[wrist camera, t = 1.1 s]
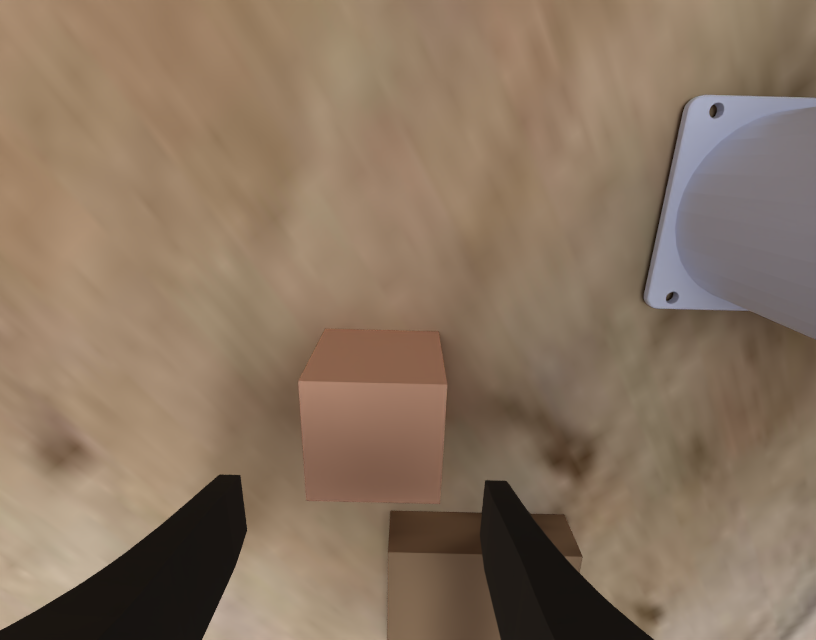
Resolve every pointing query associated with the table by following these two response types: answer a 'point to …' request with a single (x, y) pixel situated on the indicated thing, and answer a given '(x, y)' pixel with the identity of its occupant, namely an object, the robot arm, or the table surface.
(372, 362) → the terracotta cube
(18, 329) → the table surface
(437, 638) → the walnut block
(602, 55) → the table surface
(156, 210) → the table surface
